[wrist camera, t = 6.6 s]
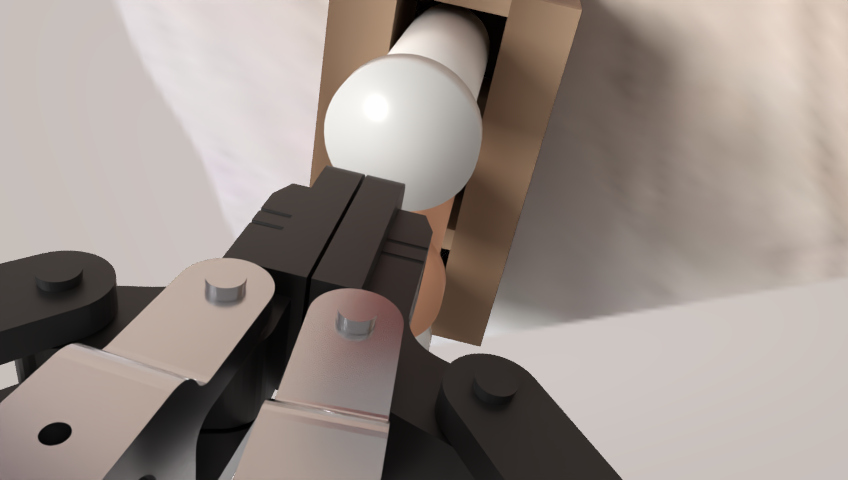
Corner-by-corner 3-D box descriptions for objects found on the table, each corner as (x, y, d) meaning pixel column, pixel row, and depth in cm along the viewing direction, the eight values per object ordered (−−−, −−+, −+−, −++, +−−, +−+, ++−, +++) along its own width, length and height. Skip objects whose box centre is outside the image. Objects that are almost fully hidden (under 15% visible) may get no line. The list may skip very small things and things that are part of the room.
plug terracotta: (482, 127, 25) (455, 249, 17) (461, 215, 27) (427, 357, 19) (383, 104, 25) (314, 214, 17) (369, 192, 27) (301, 326, 19)
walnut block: (576, -18, 25) (582, 10, 21) (489, 280, 32) (480, 346, 28) (370, -65, 25) (334, -47, 21) (329, 241, 33) (297, 300, 28)
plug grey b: (513, 5, 22) (496, 83, 15) (487, 110, 24) (460, 227, 17) (403, -21, 23) (333, 45, 15) (387, 86, 25) (316, 191, 17)
